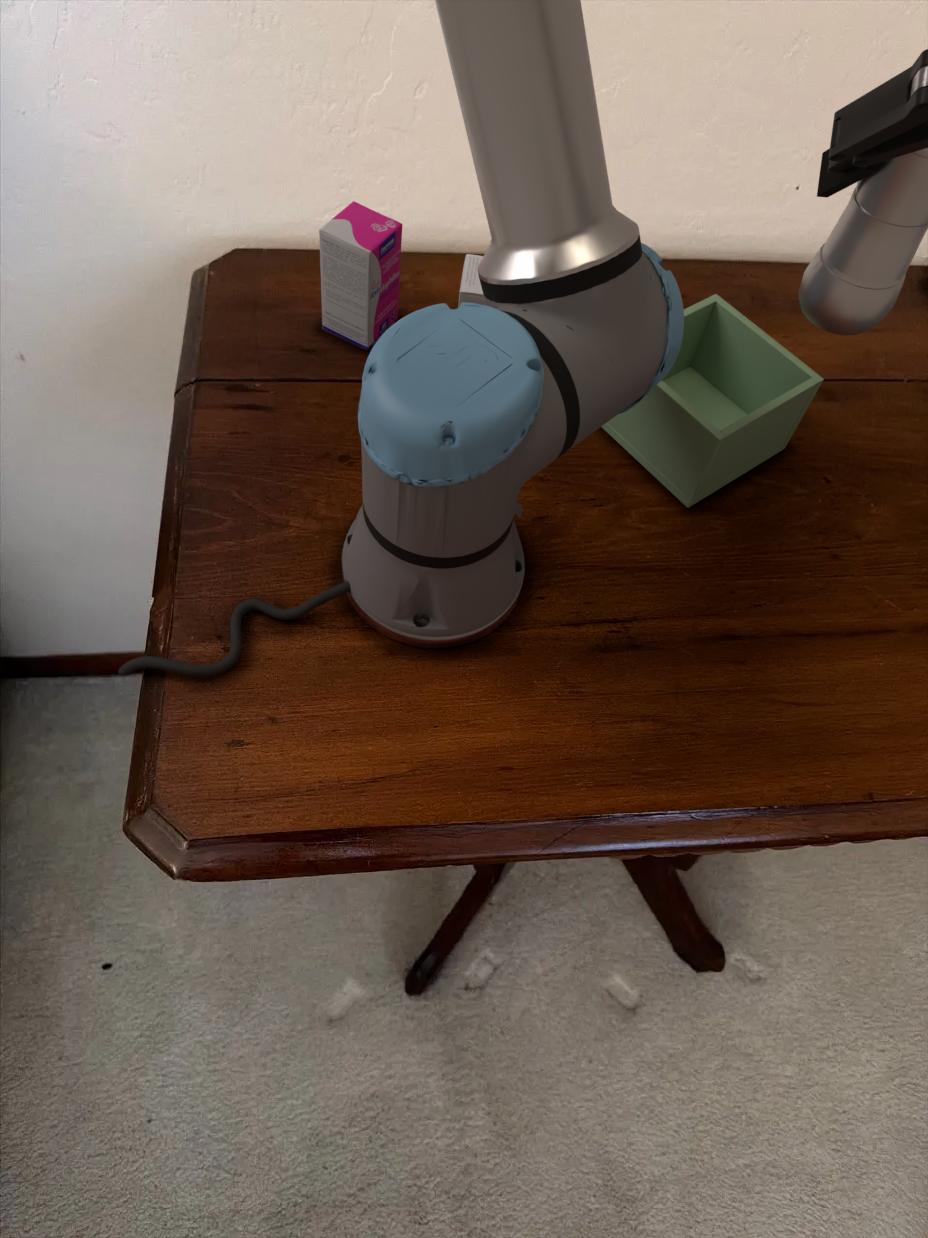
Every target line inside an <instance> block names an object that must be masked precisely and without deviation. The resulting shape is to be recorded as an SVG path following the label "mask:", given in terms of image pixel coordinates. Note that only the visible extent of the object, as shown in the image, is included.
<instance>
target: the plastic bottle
mask: <svg viewBox="0 0 928 1238" xmlns="http://www.w3.org/2000/svg"><path fill="white" fill-rule="evenodd" d="M927 231H928V148H925V149H922V150H919V151H916V152H912V153H909V154H906V155H902V156H899V157H896V158H893V159H889V160H886V161H883V162H879V169H878V171H877V172H875V173H873V174H871V175H870V176H868V177H866V178H864V179H862V180H860V181H858V182H856V186H855V188H854V189H853V191H852V194H851V196H850V198H849V200H848V203H847V205H846V206H845V208H844V210H843V212H842V213H841V215H840V216H839V218H838V220H837V221H836V224H835V225H834V227H833V229H832V230H831V232H830V234H829V235H828V237H827V239H826V240H825V242H824V243H823V244H822V245H821V247H820V248H819V249H818V250H817V251H816V253H815V254H814V256H813V258H812V259H811V261H810V262H809V264H808V265H807V267H806V268H805V270H804V272H803V275H802V277H801V278H802V279H801V282H800V285H799V288H798V294H797V296H798V301H799V307H800V310H801V313H802V314H803V315H804V317H805V318H806V319H807V320H808V321H809V322H810V323H811V324H813V325H814V326H815V327H817V328H819V329H821V330H823V331H825V332H828V333H831V334H835V335H841V336H855V335H860V334H863V333H865V332H867V331H869V330H871V329H873V328H875V327H877V326H878V325H879V324H880V323H882V321H883V320H884V319H885V317H886V316H887V315H888V314H889V313H890V311H891V310H892V309H893V308H894V306H895V304H896V302H897V300H898V297H899V295H900V292H901V291H902V288H903V285H904V283H905V280H906V276H907V272H908V270H909V268H910V265H911V263H912V261H913V259H914V257H915V256H916V253H917V251H918V250H919V247H920V245H921V243H922V240H923V239H924V237H925V234H926V233H927Z"/></svg>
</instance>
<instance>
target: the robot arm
mask: <svg viewBox="0 0 928 1238" xmlns="http://www.w3.org/2000/svg"><path fill="white" fill-rule="evenodd" d="M434 3H435V7H436V11H437V15H438V20H439V24H440V27H441V32H442V36H443V41H444V44H445V49H446V53H447V58H448V61H449V65H450V71H451V73H452V74H451V75H452V78H453V82H454V87H455V90H456V95H457V100H458V103H459V104H458V105H459V107H460V111H461V116H462V120H463V124H464V128H465V133H466V137H467V142H468V145H469V151H470V153H471V157H472V162H473V166H474V170H475V174H476V179H477V182H478V187H479V192H480V196H481V200H482V204H483V207H484V208H483V209H484V213H485V216H486V221H487V225H488V228H489V233H490V238H491V239H490V243H489V245H488V247H487V249H486V250H485V252H484V254H483V255H482V256H483V258H482V260H481V262H480V263H479V265H478V275H479V279H480V283H481V287H482V291H483V295H484V299H485V303H486V305H482V304H476V303H469V302H462V303H461V304H460V306H459V308H458V307H457V308H454V309H453V308H450V307H449V305H448V304H447V303H446V302H445V303H444V302H442V303H437V304H432V305H428V306H425V307H423V308H421V309H416V310H415V311H413V312H410V313H409V314H407V315H405V316H403V317H401V318H400V319H399V320H397V322H396V323H395V324H393V325H392V326H391V327H390V328H389V329H388V330H386V331H385V332H384V334H383V335H382V336H381V337H380V338H379V339H378V340H377V341H376V342H375V343H374V344H373V346H372V347H371V349H370V352H369V354H368V356H367V358H366V361H365V363H364V368H363V371H362V377H361V390H360V394H359V402H358V404H357V424H358V425H357V427H358V432H359V435H360V448H361V449H360V450H361V451H360V452H361V486H362V487H361V488H362V489H361V490H362V491H361V493H362V505H361V506H360V508H359V510H358V512H357V514H356V517H355V519H354V520H353V522H352V523H351V526H350V527H349V529H348V532H347V534H346V536H345V538H344V542H343V545H342V550H341V575H342V582H341V583H339V584H337V585H335V586H332V587H330V588H328V589H326V590H324V591H321V592H320V593H318V594H315V595H314V596H312V597H311V598H309V599H307V600H306V601H304V602H303V603H301V604H299V605H297V606H294V607H292V608H281V607H278V606H276V605H274V604H271V603H269V602H268V601H265V600H261V599H258V598H250V599H246V600H243V601H242V602H240V603H239V604H237V605H236V607H234V608H233V610H232V613H231V615H230V620H229V637H230V648H229V652H228V654H227V655H226V656H225V657H224V658H223V659H221V660H219V661H216V662H213V663H209V664H194V663H189V662H183V661H179V660H174V659H171V658H165V657H161V656H151V655H148V656H138V657H136V658H133V659H130V660H128V661H127V662H125V663H124V664H123V665H121V666H120V667H119V668H118V671H117V673H118V675H120V676H124V677H125V676H129V675H130V674H132V673H133V672H135V671H138V670H140V669H156V670H162V671H168V672H173V673H176V674H180V675H185V676H192V677H211V676H216V675H219V674H222V673H224V672H225V671H228V670H230V669H231V668H232V667H234V665H235V664H236V663H237V662H238V660H239V659H240V656H241V654H242V651H243V650H242V649H243V636H242V619H243V617H244V616H245V614H246V613H248V612H250V611H257V612H258V611H259V612H261V613H263V614H266V616H267V615H268V616H269V617H272V618H274V619H276V620H281V621H290V620H296V619H299V618H301V617H304V616H305V615H307V614H309V613H310V612H312V611H314V610H315V609H317V608H318V607H320V606H322V605H324V604H325V603H328V602H330V601H332V600H334V599H337V598H339V597H340V596H343V595H345V594H346V596H347V598H348V600H349V602H350V604H351V606H352V608H353V609H354V610H355V612H356V613H357V615H358V616H360V618H361V619H362V620H363V621H364V622H365V623H366V624H367V625H368V626H370V627H371V628H373V630H375V631H376V632H378V633H380V634H381V635H383V636H385V637H387V638H389V639H391V640H393V641H396V642H398V643H400V644H401V643H402V644H404V645H408V646H413V647H417V648H427V649H447V648H453V647H454V648H455V647H458V646H463V645H466V644H470V643H472V642H475V641H477V640H479V639H482V638H483V637H486V636H487V635H489V634H490V633H492V632H493V631H495V630H496V629H497V628H499V626H501V624H503V623H504V622H505V621H506V620H507V618H508V617H509V616H510V614H511V613H512V611H513V610H514V608H515V607H516V605H517V602H518V600H519V597H520V594H521V592H522V586H523V583H524V577H525V572H526V571H525V570H526V562H525V555H524V550H523V545H522V541H521V538H520V535H519V532H518V528H517V525H516V522H515V515H516V516H517V517H518V518H519V519H520V520H521V519H522V515H523V511H524V508H523V507H522V506H521V505H520V503H518V499H519V495H520V492H521V489H523V486H524V485H525V484H526V483H527V482H528V481H529V480H530V479H531V478H533V477H534V476H536V475H537V474H538V473H540V472H542V470H544V469H545V468H547V467H548V466H549V465H550V464H552V463H553V462H554V461H556V460H557V459H559V458H560V457H561V456H563V455H565V454H566V453H567V452H569V451H570V450H571V449H572V448H574V447H575V446H577V445H579V444H580V443H581V442H582V441H584V440H585V439H587V438H588V437H589V436H590V435H592V434H594V432H596V431H597V430H599V429H600V428H602V427H601V426H603V425H604V424H605V423H607V422H608V421H610V420H611V419H612V418H614V417H615V416H616V415H618V414H621V413H624V412H626V411H627V410H629V409H631V408H632V407H634V406H635V405H637V404H638V403H639V402H640V401H641V400H643V398H644V397H645V396H646V395H647V394H648V393H649V392H650V390H651V389H652V388H653V387H655V386H656V385H657V384H658V383H659V382H660V381H662V379H663V378H664V377H665V376H666V375H667V374H668V372H669V371H670V369H671V368H672V366H673V364H674V363H675V361H676V358H677V356H678V353H679V351H680V347H681V344H682V339H683V333H684V309H685V308H684V303H683V298H682V295H681V290H680V287H679V285H678V281H677V279H676V277H675V276H674V274H673V272H672V270H669V269H668V270H667V269H664V268H663V266H662V264H663V258H662V257H661V256H660V254H658V252H657V251H655V250H654V249H653V248H651V247H650V246H649V245H647V244H645V243H643V242H642V241H641V234H640V228H639V224H638V223H637V222H636V221H634V219H631V218H630V217H628V216H626V215H625V214H623V213H622V212H620V211H619V210H618V209H617V208H616V207H615V206H614V204H613V199H612V193H611V185H610V180H609V173H608V168H607V167H608V166H607V160H606V154H605V147H604V142H603V135H602V129H601V122H600V115H599V109H598V103H597V97H596V90H595V85H594V77H593V70H592V64H591V58H590V52H589V45H588V40H587V32H586V26H585V20H584V14H583V7H582V0H434ZM829 144H830V145H829V148H828V149H826V150H825V151H823V152H822V153H821V154H822V155H821V161H820V169H819V176H818V184H817V192H816V198H830V197H831V196H833V195H836V194H837V193H839V192H841V191H843V190H845V189H847V188H849V187H850V186H852V185H854V184H857V182H858V181H860V180H862V179H864V178H866V177H868V176H870V175H871V174H873V173H875V172H877V171H878V169H879V162H883V161H886V160H889V159H893V158H896V157H899V156H902V155H906V154H909V153H912V152H916V151H919V150H922V149H925V148H928V48H927V49H924V50H922V52H921V53H920V54H919V55H918V57H917V58H916V60H915V61H914V63H913V64H912V65H911V66H910V67H908V68H907V69H905V70H903V71H902V72H900V73H897V74H896V75H895V76H893V77H891V78H890V79H888V80H886V81H885V82H883V83H881V84H880V85H878V86H876V87H874V88H873V89H871V90H869V91H868V92H866V93H865V94H863V95H861V96H859V97H858V98H856V99H854V100H853V101H851V102H850V103H848V104H847V105H845V106H843V107H842V108H840V109H838V110H836V111H835V112H834V113H833V121H832V129H831V135H830V143H829ZM145 667H146V668H145Z"/></svg>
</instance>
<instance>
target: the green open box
mask: <svg viewBox="0 0 928 1238" xmlns="http://www.w3.org/2000/svg"><path fill="white" fill-rule="evenodd" d="M683 309H684V333H683V339H682V344H681V347H680V351H679V353H678V356H677V358H676V361H675V363H674V364H673V366H672V368H671V369H670V371H669V372H668V374H667V375H666V376H665V377H664V378H663V379H662V381H660V382H659V383H658V384H657V385H656V386H655V387H653V388H652V389H651V390H650V392H649V393H648V394H647V395H646V396H645V397H644V398H643V400H641V401H640V402H639V403H638V404H637V405H635V406H634V407H632V408H631V409H629V410H627V411H626V412H624V413H621V414H618V415H616V416H615V417H614V418H612V419H611V420H610V421H608V422H607V423H605V424H604V425H603V426H601V427H600V428H602V429H603V430H604V431H605V432H606V433H607V434H608V435H609V436H610V437H611V438H612V439H613V440H615V442H616V443H618V444H619V445H620V446H621V447H622V448H623V449H624V450H625V451H626V452H627V453H628V454H630V456H632V457H633V459H634V460H635V461H637V462H638V463H639V464H640V465H641V466H642V467H643V468H644V469H645V470H646V471H648V472H649V474H651V475H652V476H653V477H654V478H655V479H656V480H657V481H658V482H659V483H660V484H661V485H662V486H663V487H664V488H666V490H668V491H669V492H670V493H671V494H672V495H673V496H674V497H675V498H677V500H678V501H680V503H682V504H683V505H684V506H685V507H686V508H690V507H692V506H693V505H694V506H695V504H697V503H698V502H700V501H702V500H704V499H705V498H707V497H708V496H710V495H711V494H713V493H715V492H716V491H718V490H720V489H721V488H723V487H725V486H727V485H728V484H729V483H731V482H733V481H735V480H736V479H737V478H740V477H742V476H743V475H744V474H746V473H747V472H749V471H750V470H752V469H754V468H756V467H757V466H759V465H761V464H762V463H763V462H765V461H767V460H768V459H770V458H772V457H773V456H775V455H777V454H778V453H780V452H782V451H783V450H785V449H786V447H787V445H788V444H789V442H790V440H791V438H792V437H793V436H794V433H795V431H796V430H797V428H798V426H799V424H800V423H801V421H802V419H803V418H804V416H805V414H806V412H807V411H808V408H809V406H810V405H811V404H812V401H813V400H814V398H815V396H816V395H817V392H818V391H819V389H820V387H821V386H822V384H823V382H824V381H825V379H824V378H823V377H822V376H821V375H819V374H818V373H817V372H816V371H814V369H812V368H811V367H810V366H808V365H807V364H805V362H803V361H802V360H801V359H799V358H798V357H797V356H796V355H794V354H793V353H792V352H791V351H790V350H788V349H787V348H786V347H784V346H783V345H781V344H780V343H779V342H778V341H777V340H776V339H774V338H773V337H771V335H769V334H768V333H766V332H765V330H763V329H761V327H759V326H758V325H756V324H755V323H754V322H752V321H751V320H750V319H749V318H747V317H746V316H745V315H744V314H742V313H741V312H740V311H739V310H737V309H736V308H735V307H734V306H733V305H731V304H730V303H729V302H727V301H726V300H724V299H723V298H722V297H721V296H720V295H719V294H717V293H715V294H713V295H710V296H709V297H706V298H704V299H702V300H700V301H699V302H696V303H694V304H692V305H690V306H688V307H686V308H683Z"/></svg>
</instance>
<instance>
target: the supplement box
mask: <svg viewBox="0 0 928 1238" xmlns="http://www.w3.org/2000/svg"><path fill="white" fill-rule="evenodd" d="M318 237H319V238H318V239H319V267H320V268H319V269H320V295H321V324H322V326H321V329H322V330H323V331H325V332H327V333H329V334H331V335H333V336H335V337H338V338H339V339H340V340H341V339H342V340H344V341H346V342H348V343H350V344H351V345H354V346H356V347H358V348H360V349H361V350H364V351H369V350H371V349H372V348H373V347H374V345H375V344H376V342H377V341H378V340H379V338H380V337H381V336H382V335H383V334H384V332H385V331H386V330H388V329H389V328H390V327H391V326H392V325H393V324H395V323H396V322H397V321H398V319H399V318H398V316H399V297H400V296H399V295H400V279H401V278H400V277H401V258H402V240H403V223H402V222H400V221H398V220H395V219H394V218H391V217H388V216H386V215H384V214H382V213H379V212H378V211H376V210H373V209H371V208H369V207H367V206H364V205H362V204H360V203H359V202H357V201H352V202H350V203H349V204H348V205H347V206H345V208H343V209H342V210H341V211H340V212H338V213H337V214H336V215H335V216H334V217H332V218H331V219H330V220H329V221H327V222H326V223H325V224H323V226H321V227H320V228H319V229H318Z"/></svg>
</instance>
